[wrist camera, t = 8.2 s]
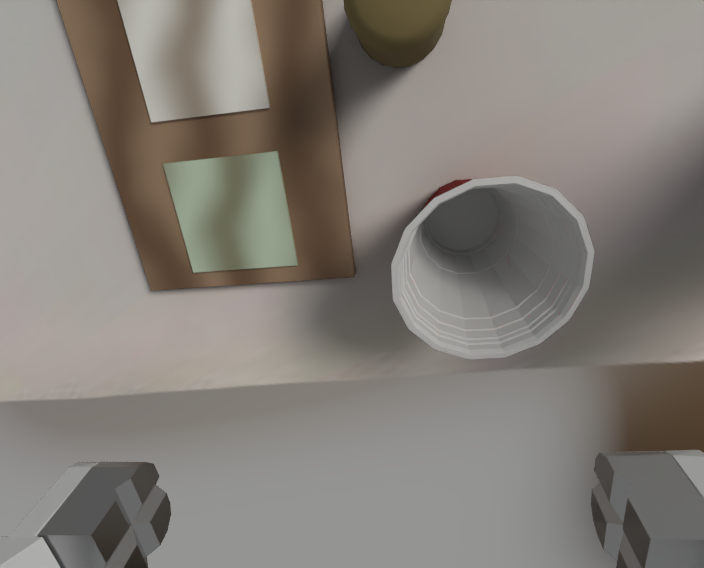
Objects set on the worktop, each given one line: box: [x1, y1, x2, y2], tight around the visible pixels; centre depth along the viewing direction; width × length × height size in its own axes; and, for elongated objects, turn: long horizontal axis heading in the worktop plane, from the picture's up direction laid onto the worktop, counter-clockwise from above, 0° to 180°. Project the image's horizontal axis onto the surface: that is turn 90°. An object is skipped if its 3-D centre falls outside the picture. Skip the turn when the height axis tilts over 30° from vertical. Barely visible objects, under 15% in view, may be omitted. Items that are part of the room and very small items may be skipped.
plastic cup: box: [391, 176, 595, 359], centre depth 29 cm, size 11×11×12 cm
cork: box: [344, 0, 452, 68], centre depth 25 cm, size 6×6×11 cm
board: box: [56, 0, 356, 290], centre depth 34 cm, size 18×24×1 cm
